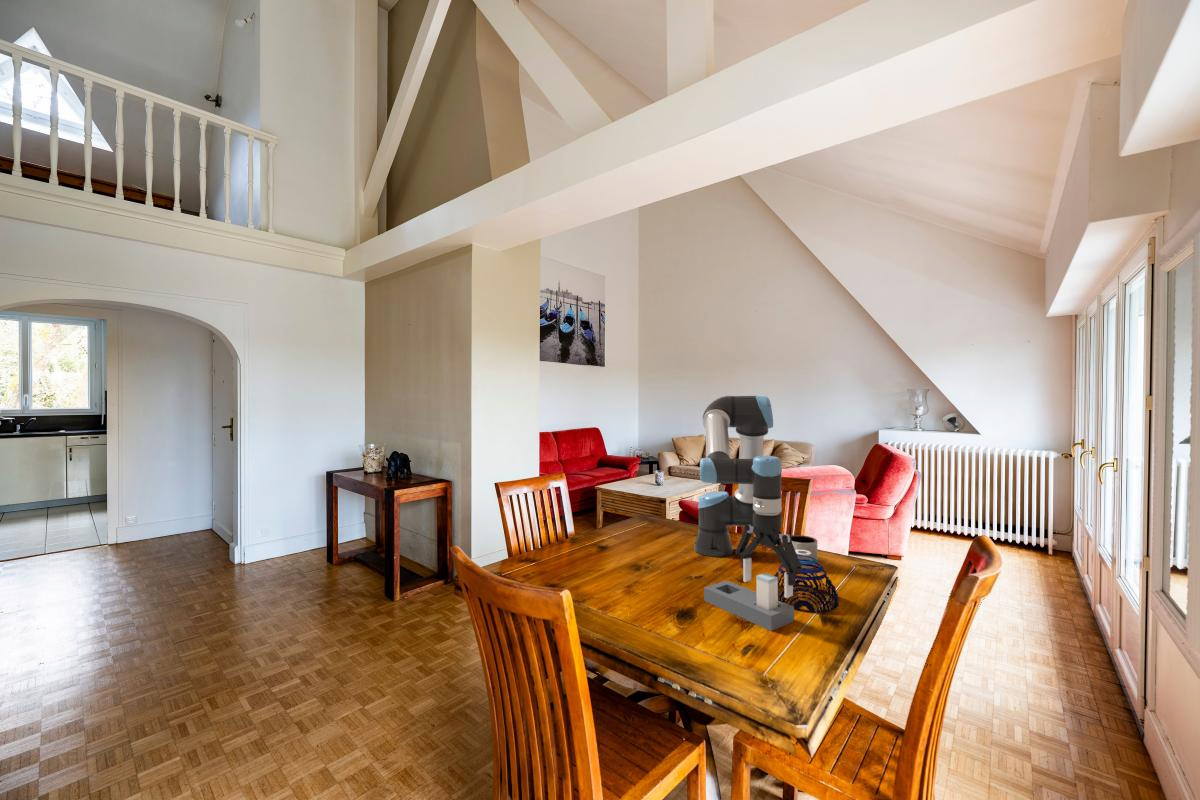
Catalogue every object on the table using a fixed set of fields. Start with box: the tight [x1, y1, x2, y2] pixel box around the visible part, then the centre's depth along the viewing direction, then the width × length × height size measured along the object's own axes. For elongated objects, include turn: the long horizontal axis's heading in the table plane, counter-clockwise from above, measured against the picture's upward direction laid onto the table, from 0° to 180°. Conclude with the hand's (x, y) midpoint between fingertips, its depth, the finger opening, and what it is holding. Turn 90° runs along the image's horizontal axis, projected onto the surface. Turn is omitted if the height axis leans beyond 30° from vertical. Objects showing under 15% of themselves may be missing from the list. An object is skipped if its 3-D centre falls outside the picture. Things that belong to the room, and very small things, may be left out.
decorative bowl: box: [773, 550, 840, 614], centre depth 152 cm, size 20×20×14 cm
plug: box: [755, 572, 779, 611], centre depth 138 cm, size 4×4×12 cm
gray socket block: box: [703, 580, 795, 632], centre depth 144 cm, size 10×24×4 cm, turn 35°
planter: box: [790, 534, 819, 570], centre depth 183 cm, size 11×11×10 cm
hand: (767, 588), depth 138 cm, fingers open, 13 cm apart
